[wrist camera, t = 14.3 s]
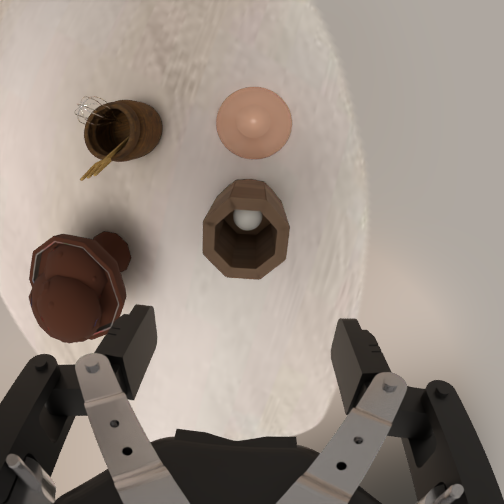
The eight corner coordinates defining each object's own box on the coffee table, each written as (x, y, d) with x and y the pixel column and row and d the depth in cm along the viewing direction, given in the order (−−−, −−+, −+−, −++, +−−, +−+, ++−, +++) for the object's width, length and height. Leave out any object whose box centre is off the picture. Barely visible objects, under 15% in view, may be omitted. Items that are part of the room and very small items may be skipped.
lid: (220, 86, 28) (211, 76, 22) (293, 91, 28) (301, 82, 22) (215, 156, 30) (206, 162, 25) (287, 161, 30) (294, 168, 25)
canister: (218, 177, 31) (203, 195, 23) (282, 181, 31) (292, 201, 23) (216, 237, 33) (202, 275, 25) (276, 241, 33) (283, 281, 25)
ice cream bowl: (101, 189, 31) (16, 234, 17) (171, 257, 34) (122, 339, 20) (59, 249, 34) (-14, 310, 20) (121, 308, 37) (70, 390, 23)
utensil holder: (157, 94, 28) (104, 79, 17) (170, 151, 30) (123, 166, 19) (107, 112, 28) (40, 111, 17) (120, 166, 30) (57, 189, 19)
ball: (234, 197, 31) (232, 204, 28) (263, 199, 31) (263, 206, 28) (233, 224, 32) (231, 233, 29) (261, 226, 32) (261, 235, 29)
